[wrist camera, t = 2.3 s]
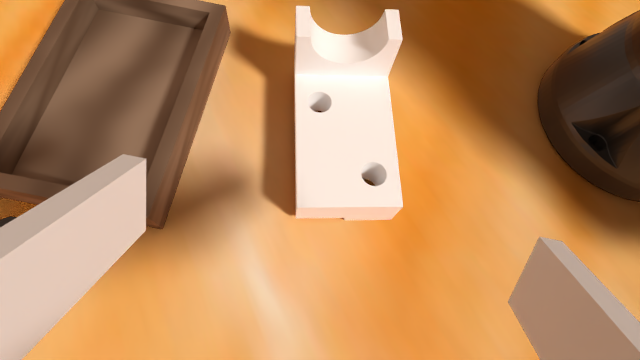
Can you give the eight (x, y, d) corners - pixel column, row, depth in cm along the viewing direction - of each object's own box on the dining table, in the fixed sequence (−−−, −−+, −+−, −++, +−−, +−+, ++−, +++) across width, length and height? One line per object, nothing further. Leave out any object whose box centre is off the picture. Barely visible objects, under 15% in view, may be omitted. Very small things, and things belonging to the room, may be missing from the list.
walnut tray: (230, 32, 34) (225, 5, 31) (162, 229, 27) (148, 217, 24) (92, 5, 34) (75, -25, 31) (-10, 195, 27) (-45, 179, 24)
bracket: (293, 74, 33) (295, 5, 26) (375, 76, 34) (398, 9, 27) (295, 221, 28) (298, 186, 21) (389, 220, 29) (423, 185, 22)
